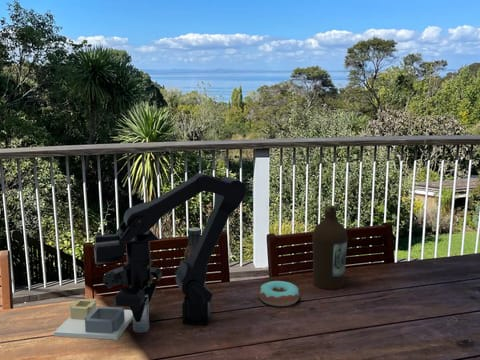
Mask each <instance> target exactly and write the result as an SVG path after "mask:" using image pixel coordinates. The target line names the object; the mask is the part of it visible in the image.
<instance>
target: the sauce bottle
mask: <svg viewBox="0 0 480 360" xmlns="http://www.w3.org/2000/svg"><path fill="white" fill-rule="evenodd" d="M201 234H202V228H201V227H189V228H187V238H188V239H187V240H188V241H187V246H186V247H185V249H184V253H183V254H184V259H183V260H184V261H187V260H188V259H189V258H190V257H191V256H192V254H193V252H194V250H195V248H196V245H197V243H198V241H199V239H200V237H201Z"/></svg>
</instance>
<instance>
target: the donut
mask: <svg viewBox="0 0 480 360" xmlns="http://www.w3.org/2000/svg"><path fill="white" fill-rule="evenodd" d="M300 295H301V293H300V289H299V288H298V286H297V285H295V284H294V283H291V282H289V281H282V280H274V281H268V282H265V283H263V284H261V285H260V287H259V289H258V296H259V299H260V300H261V301H262V302H263V303H264V304H266V305H269V306H273V307H288V306H291V305H294V304H295V303H296V302H298V301H299V298H300Z"/></svg>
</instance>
